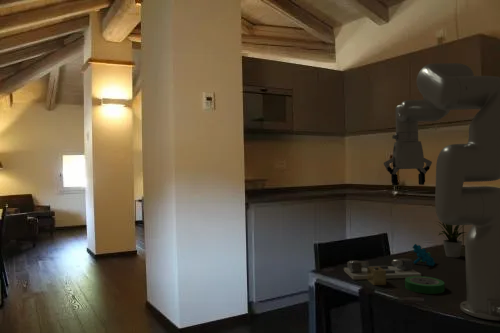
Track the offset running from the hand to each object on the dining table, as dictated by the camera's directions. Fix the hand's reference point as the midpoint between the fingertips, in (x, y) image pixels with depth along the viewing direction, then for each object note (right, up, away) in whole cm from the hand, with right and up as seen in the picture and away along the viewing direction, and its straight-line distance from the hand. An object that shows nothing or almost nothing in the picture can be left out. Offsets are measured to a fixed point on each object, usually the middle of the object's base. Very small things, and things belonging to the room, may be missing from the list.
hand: (408, 185), depth 147 cm
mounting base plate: (-12, -31, -6) cm, 34 cm away
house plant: (+26, -31, +22) cm, 45 cm away
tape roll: (-4, -31, -23) cm, 39 cm away
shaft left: (-20, -30, -6) cm, 36 cm away
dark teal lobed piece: (+9, -31, +7) cm, 33 cm away
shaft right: (-4, -30, -4) cm, 30 cm away
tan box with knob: (-16, -31, -16) cm, 38 cm away
